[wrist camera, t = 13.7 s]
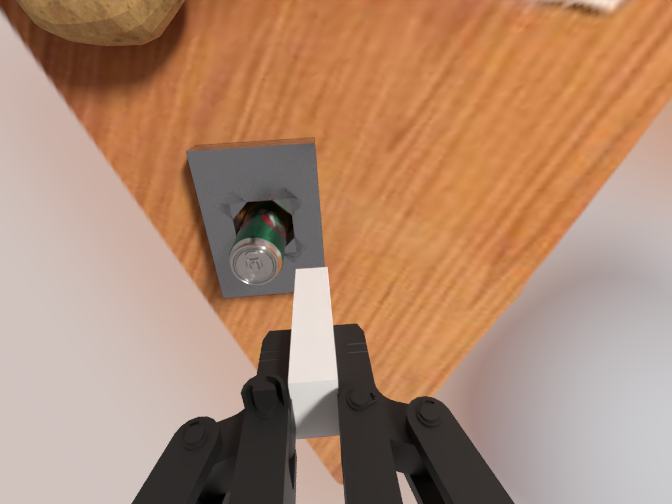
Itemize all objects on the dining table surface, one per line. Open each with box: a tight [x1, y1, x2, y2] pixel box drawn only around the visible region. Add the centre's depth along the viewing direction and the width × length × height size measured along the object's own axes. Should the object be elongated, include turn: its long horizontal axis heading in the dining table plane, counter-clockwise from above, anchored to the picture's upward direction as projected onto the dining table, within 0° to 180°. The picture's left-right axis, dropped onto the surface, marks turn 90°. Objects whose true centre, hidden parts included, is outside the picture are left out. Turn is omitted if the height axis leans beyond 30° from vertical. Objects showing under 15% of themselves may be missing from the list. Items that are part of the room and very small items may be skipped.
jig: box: [186, 138, 325, 298], centre depth 40 cm, size 18×13×4 cm
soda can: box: [229, 200, 289, 286], centre depth 36 cm, size 5×5×12 cm
